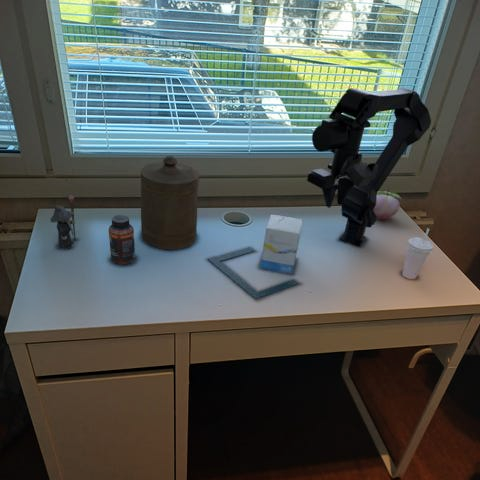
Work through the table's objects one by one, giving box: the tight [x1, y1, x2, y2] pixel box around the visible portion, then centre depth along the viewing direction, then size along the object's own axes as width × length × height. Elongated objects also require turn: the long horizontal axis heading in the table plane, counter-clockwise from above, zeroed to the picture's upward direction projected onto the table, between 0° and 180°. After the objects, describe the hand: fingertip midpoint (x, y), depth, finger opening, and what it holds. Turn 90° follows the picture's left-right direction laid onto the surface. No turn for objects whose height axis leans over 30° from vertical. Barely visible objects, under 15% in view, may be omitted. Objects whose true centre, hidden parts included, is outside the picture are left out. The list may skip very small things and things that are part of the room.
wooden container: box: [140, 155, 200, 250], centre depth 123 cm, size 15×15×22 cm
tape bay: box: [207, 247, 299, 300], centre depth 120 cm, size 14×20×1 cm
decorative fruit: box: [373, 189, 403, 220], centre depth 150 cm, size 9×8×10 cm
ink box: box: [260, 214, 304, 275], centre depth 121 cm, size 9×8×12 cm
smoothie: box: [401, 227, 434, 280], centre depth 122 cm, size 6×6×14 cm
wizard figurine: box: [49, 194, 76, 250], centre depth 118 cm, size 8×6×12 cm
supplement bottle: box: [108, 214, 136, 266], centre depth 115 cm, size 6×6×11 cm
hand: (333, 205), depth 125 cm, fingers open, 4 cm apart
